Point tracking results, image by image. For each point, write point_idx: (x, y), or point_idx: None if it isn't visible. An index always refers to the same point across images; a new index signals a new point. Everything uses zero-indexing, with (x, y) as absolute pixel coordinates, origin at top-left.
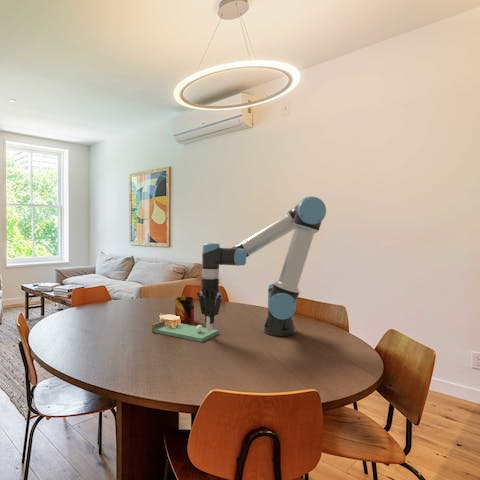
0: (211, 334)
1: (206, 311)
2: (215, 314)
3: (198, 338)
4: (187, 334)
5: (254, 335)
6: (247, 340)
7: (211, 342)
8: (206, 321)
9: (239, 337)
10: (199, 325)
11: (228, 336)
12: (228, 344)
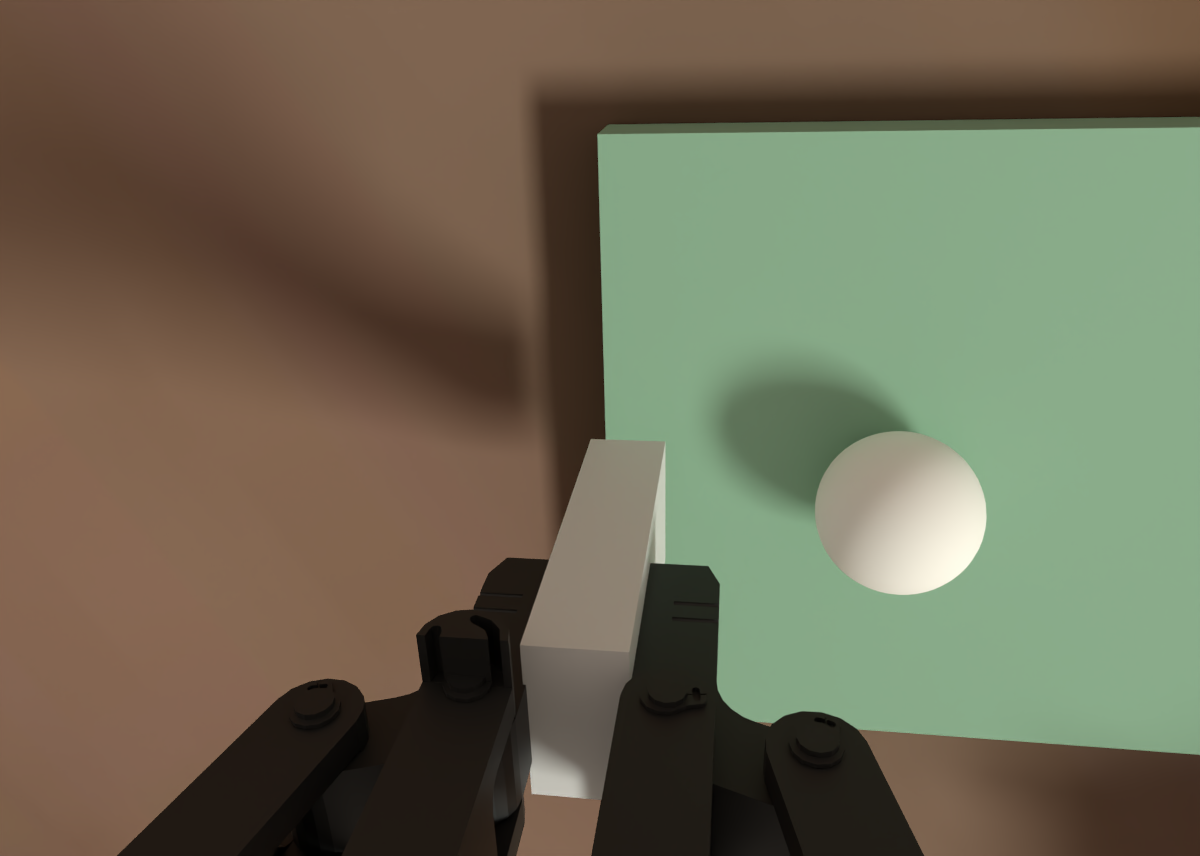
0: None
1: (625, 783)
2: (263, 713)
3: (686, 130)
4: (1062, 204)
5: (155, 799)
6: (75, 590)
7: (446, 224)
8: (673, 585)
9: (250, 653)
10: (907, 539)
11: (411, 624)
12: (149, 291)
